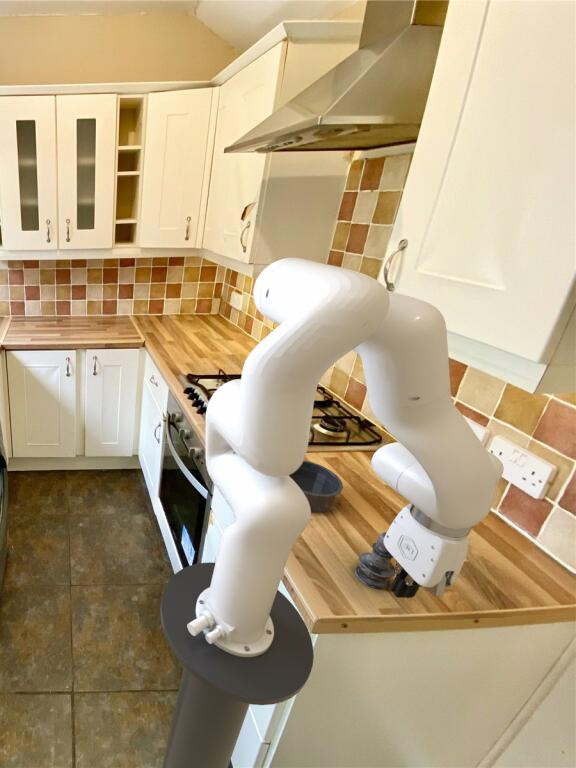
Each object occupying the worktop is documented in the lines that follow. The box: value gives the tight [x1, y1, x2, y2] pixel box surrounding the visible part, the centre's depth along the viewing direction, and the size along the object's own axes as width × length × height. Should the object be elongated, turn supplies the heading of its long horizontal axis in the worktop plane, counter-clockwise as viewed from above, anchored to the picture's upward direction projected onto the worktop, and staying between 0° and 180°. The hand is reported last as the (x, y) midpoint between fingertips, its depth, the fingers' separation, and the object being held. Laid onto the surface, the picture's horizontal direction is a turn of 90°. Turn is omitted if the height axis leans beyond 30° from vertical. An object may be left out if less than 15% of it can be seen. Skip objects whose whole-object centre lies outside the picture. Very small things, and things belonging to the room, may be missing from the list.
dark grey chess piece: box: [354, 531, 397, 590], centre depth 78 cm, size 6×6×12 cm
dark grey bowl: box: [289, 459, 344, 514], centre depth 103 cm, size 14×14×5 cm
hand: (401, 593), depth 74 cm, fingers closed
